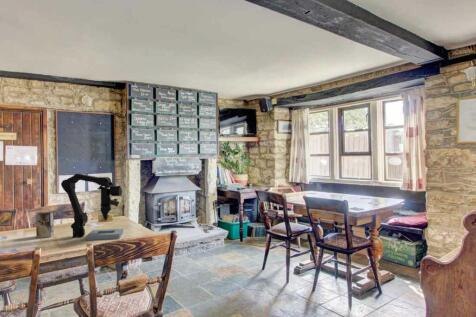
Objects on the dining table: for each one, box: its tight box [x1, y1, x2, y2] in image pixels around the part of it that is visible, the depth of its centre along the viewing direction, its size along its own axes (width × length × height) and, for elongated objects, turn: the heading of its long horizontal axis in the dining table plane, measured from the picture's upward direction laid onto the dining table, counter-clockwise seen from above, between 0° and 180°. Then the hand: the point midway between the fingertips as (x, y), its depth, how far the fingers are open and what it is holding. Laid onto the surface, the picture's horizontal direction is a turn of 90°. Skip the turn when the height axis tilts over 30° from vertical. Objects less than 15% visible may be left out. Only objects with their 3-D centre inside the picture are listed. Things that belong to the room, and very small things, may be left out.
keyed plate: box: [86, 228, 124, 241], centre depth 214 cm, size 20×16×3 cm
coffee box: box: [35, 211, 55, 239], centre depth 215 cm, size 9×6×16 cm
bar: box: [97, 213, 114, 223], centre depth 214 cm, size 9×4×4 cm, turn 107°
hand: (105, 219), depth 214 cm, fingers closed on bar, 5 cm apart
